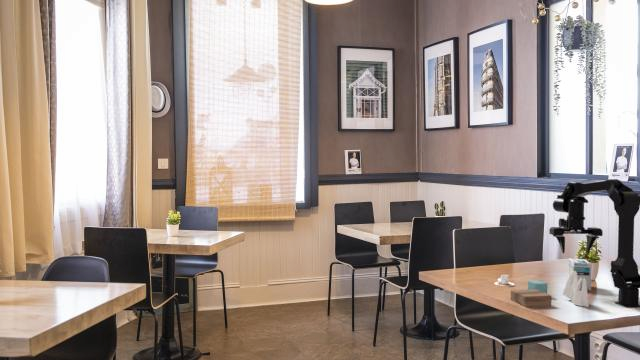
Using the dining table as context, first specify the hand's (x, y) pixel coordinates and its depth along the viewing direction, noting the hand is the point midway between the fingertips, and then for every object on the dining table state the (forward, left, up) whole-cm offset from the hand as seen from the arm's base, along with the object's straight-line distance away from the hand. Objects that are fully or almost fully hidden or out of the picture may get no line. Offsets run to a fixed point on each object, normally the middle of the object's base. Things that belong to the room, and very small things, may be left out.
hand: (575, 253), depth 243 cm
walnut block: (-19, +29, -14) cm, 38 cm away
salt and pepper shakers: (-21, +13, -14) cm, 28 cm away
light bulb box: (+2, -4, -14) cm, 15 cm away
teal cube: (-8, +20, -14) cm, 26 cm away
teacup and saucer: (+13, +20, -15) cm, 28 cm away
